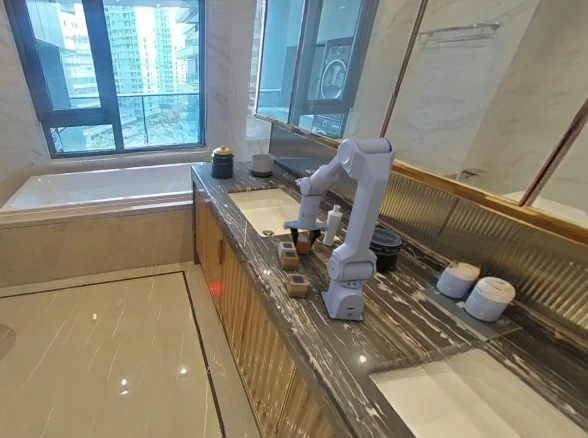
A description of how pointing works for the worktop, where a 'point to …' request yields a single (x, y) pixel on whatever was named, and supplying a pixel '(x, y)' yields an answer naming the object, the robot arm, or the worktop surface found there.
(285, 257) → the beech block
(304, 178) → the robot arm
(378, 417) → the worktop surface
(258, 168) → the planter
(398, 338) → the worktop surface
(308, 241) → the terracotta block
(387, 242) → the container
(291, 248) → the cream block
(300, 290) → the maple block
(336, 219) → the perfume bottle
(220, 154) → the canister
